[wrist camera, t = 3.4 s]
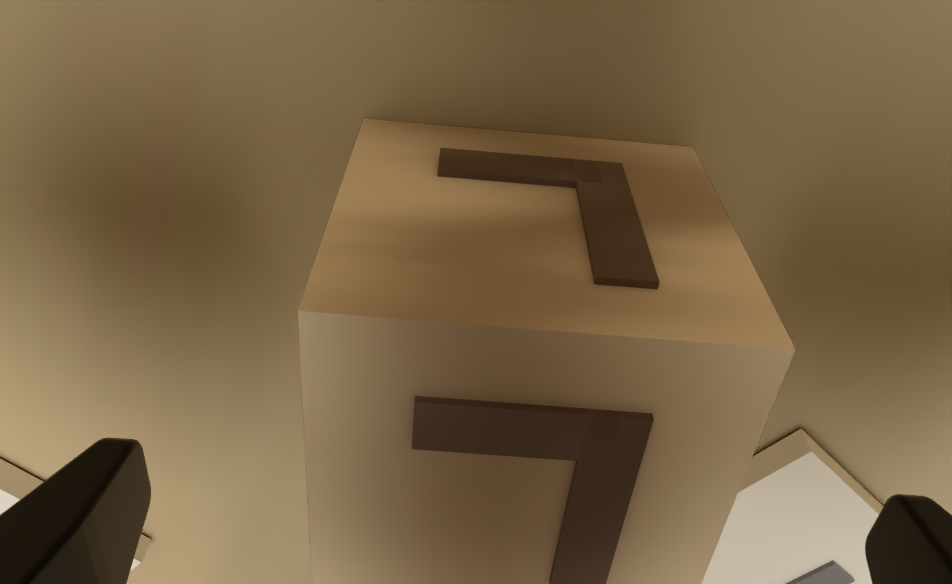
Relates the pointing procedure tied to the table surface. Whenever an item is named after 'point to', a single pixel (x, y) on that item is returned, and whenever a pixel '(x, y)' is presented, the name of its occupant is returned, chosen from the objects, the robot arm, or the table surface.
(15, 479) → the pad
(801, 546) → the pad
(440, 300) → the letter cube
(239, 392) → the table surface
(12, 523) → the robot arm
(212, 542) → the table surface
